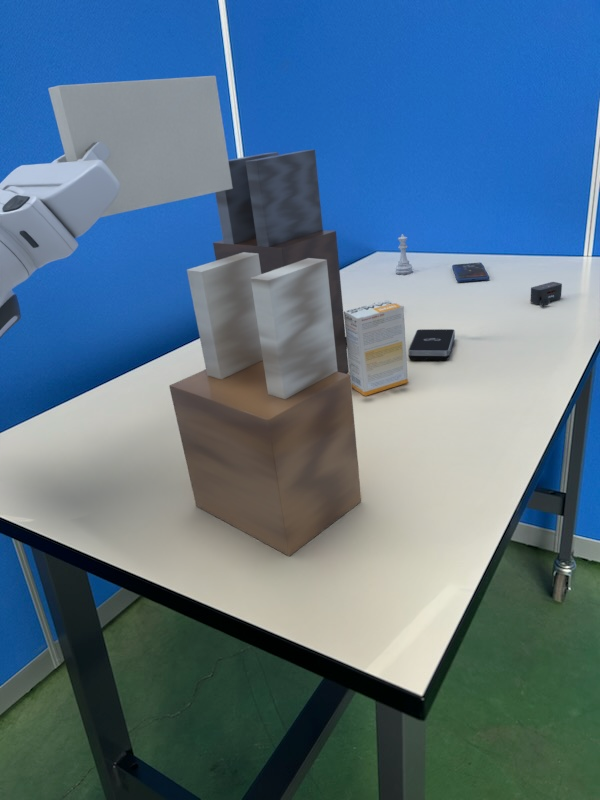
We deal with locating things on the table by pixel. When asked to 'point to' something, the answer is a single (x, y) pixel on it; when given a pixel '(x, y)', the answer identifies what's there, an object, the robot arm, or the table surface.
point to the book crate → (268, 402)
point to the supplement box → (376, 346)
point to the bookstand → (281, 222)
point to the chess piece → (403, 259)
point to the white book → (148, 136)
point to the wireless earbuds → (546, 293)
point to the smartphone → (470, 272)
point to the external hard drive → (431, 344)
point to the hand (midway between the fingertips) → (94, 147)
